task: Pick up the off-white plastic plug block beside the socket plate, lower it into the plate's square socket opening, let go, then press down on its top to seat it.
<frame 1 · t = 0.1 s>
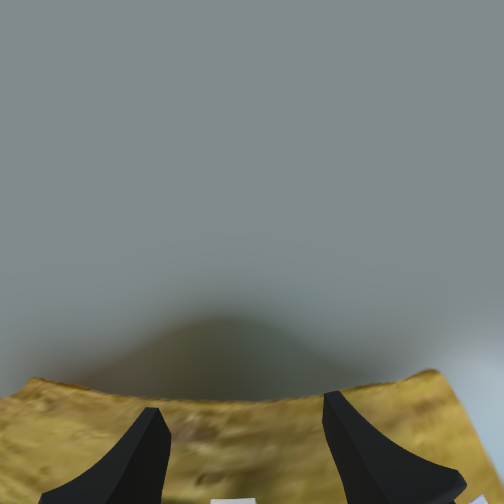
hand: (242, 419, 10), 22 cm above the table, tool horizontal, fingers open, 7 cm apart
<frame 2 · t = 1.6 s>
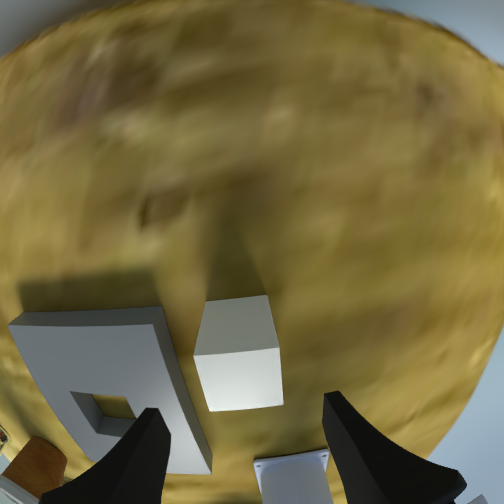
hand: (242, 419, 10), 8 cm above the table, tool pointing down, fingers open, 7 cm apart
socket plate: (117, 398, 20), on the table
plug block: (240, 324, 19), on the table
disposable coffee cup: (49, 449, 24), on the table
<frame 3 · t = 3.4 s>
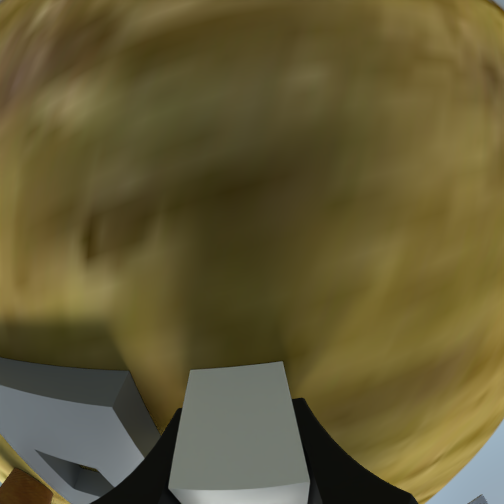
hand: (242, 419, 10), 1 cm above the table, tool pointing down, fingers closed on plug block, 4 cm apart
socket plate: (92, 456, 14), on the table
plug block: (241, 397, 12), on the table, touching gripper
disposable coffee cup: (33, 481, 17), on the table
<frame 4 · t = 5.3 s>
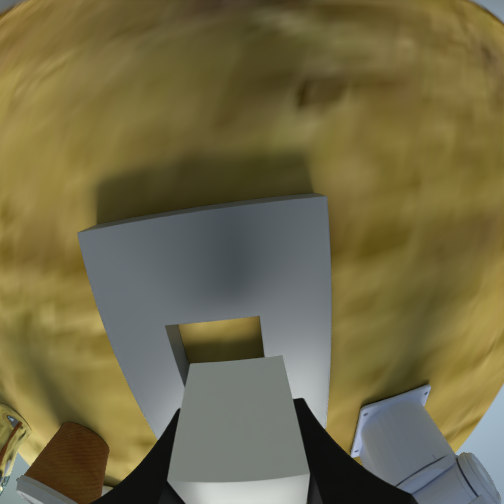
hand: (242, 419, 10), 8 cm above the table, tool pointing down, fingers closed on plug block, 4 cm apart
socket plate: (221, 338, 19), on the table
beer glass: (15, 418, 22), on the table
plug block: (241, 392, 12), point 7 cm above the table, touching gripper
flower in vase: (120, 492, 27), on the table
disposable coffee cup: (85, 438, 23), on the table
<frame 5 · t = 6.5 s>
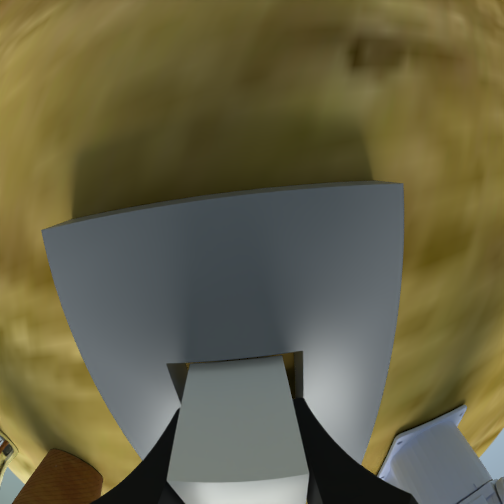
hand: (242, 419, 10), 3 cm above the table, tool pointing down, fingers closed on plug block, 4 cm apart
socket plate: (241, 372, 14), on the table
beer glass: (1, 436, 17), on the table
plug block: (241, 392, 12), point 2 cm above the table, touching gripper
disposable coffee cup: (76, 465, 17), on the table
when the fingers open (3 cm above the table, at t = 7.2 s): plug block drops 2 cm, resting in socket plate.
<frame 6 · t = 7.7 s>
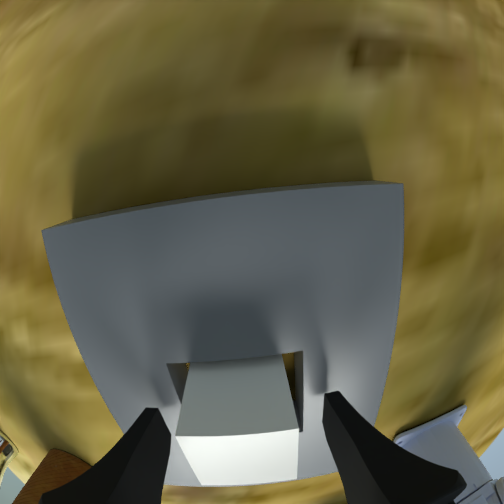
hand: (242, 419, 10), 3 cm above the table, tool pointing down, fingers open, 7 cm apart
socket plate: (241, 372, 14), on the table
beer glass: (1, 436, 17), on the table
plug block: (240, 368, 14), resting in socket plate
disposable coffee cup: (76, 465, 18), on the table
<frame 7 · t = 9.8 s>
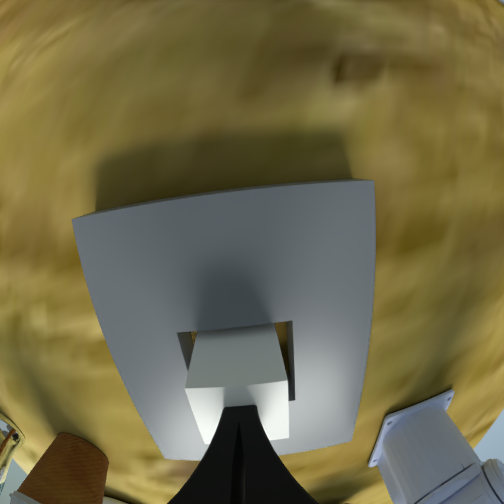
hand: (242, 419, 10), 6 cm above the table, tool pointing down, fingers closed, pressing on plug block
socket plate: (240, 345, 16), on the table
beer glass: (8, 425, 20), on the table
plug block: (239, 343, 16), resting in socket plate, touching gripper
flower in vase: (120, 502, 24), on the table
disposable coffee cup: (83, 449, 20), on the table
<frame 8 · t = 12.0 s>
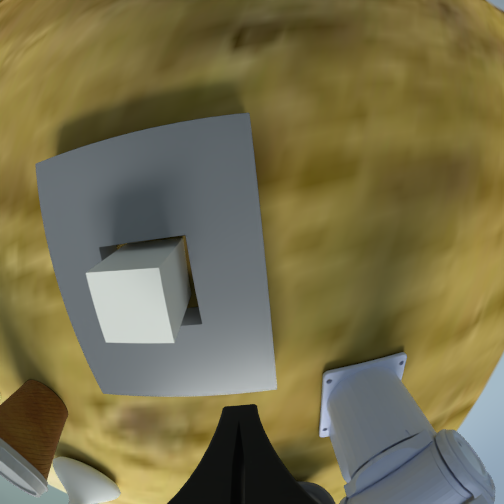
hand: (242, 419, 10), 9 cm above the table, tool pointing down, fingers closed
socket plate: (159, 272, 18), on the table
plug block: (158, 269, 18), resting in socket plate
flower in vase: (87, 468, 26), on the table
bluetooth speaker: (257, 501, 29), on the table
disposable coffee cup: (46, 399, 22), on the table
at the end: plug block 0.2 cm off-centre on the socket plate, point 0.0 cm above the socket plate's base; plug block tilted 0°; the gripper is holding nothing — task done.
